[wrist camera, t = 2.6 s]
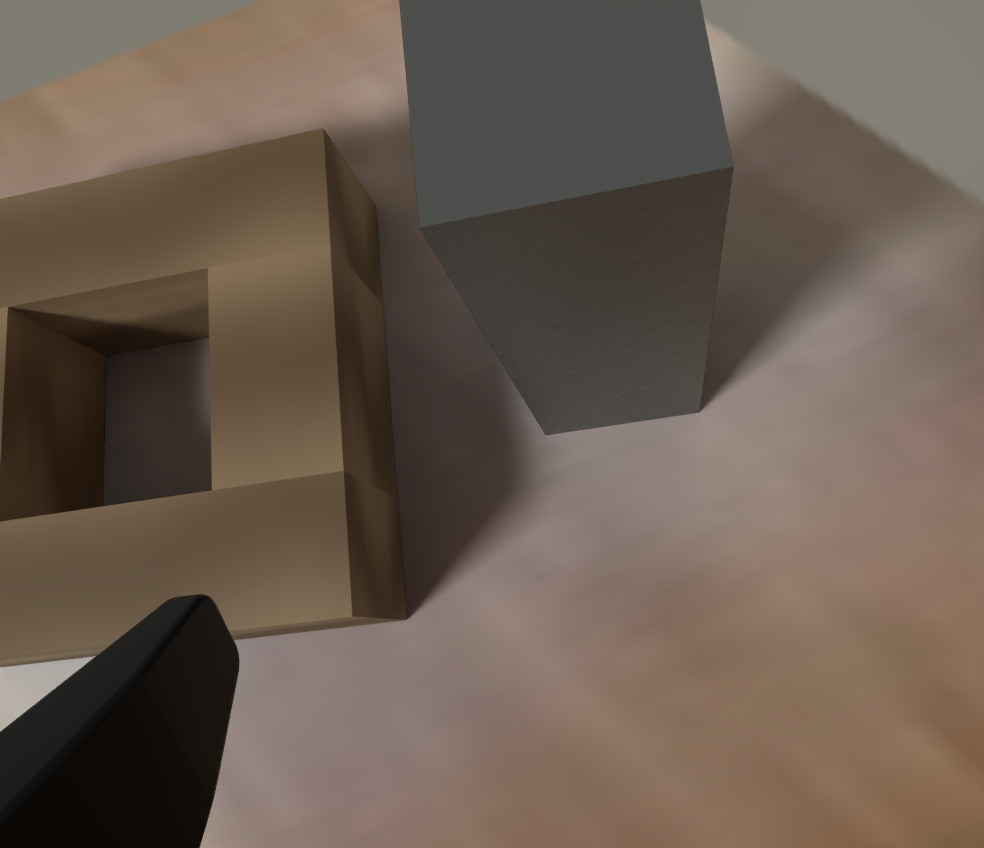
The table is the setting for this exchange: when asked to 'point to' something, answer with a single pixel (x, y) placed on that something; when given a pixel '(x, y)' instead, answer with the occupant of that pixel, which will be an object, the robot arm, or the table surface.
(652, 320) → the grey rectangular block
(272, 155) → the brown square wooden frame
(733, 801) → the table surface
